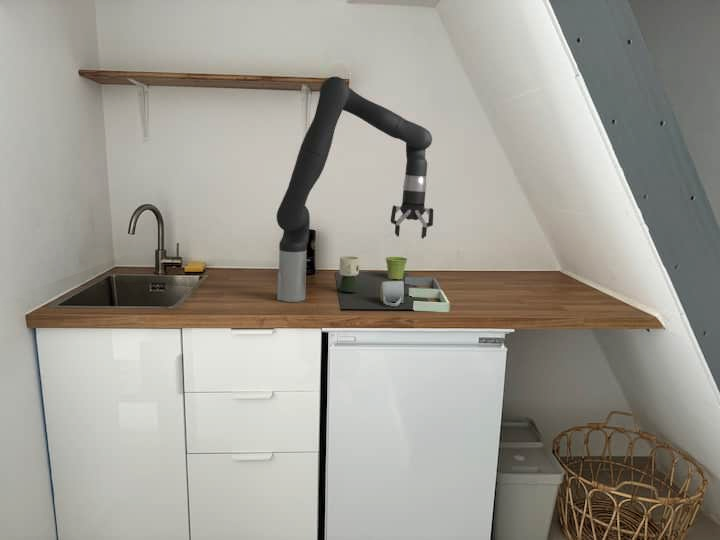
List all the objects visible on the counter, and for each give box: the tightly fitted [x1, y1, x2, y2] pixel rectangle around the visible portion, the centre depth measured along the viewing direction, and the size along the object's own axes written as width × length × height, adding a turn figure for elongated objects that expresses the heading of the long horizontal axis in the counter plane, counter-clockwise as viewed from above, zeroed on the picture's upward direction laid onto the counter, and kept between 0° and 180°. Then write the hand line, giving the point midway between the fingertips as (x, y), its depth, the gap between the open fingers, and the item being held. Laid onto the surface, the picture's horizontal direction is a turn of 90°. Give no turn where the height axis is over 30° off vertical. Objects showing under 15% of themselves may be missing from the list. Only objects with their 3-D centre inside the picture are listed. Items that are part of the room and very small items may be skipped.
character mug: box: [339, 255, 360, 294], centre depth 195 cm, size 11×7×13 cm, turn 10°
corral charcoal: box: [404, 276, 443, 295], centre depth 204 cm, size 12×20×3 cm, turn 179°
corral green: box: [408, 287, 451, 313], centre depth 184 cm, size 12×20×3 cm, turn 179°
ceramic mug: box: [380, 280, 405, 307], centre depth 182 cm, size 11×8×8 cm
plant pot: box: [384, 256, 408, 280], centre depth 223 cm, size 9×9×9 cm
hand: (410, 237), depth 180 cm, fingers open, 8 cm apart
